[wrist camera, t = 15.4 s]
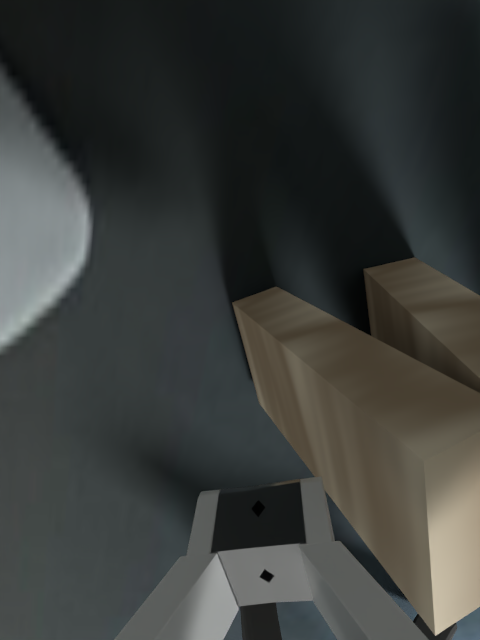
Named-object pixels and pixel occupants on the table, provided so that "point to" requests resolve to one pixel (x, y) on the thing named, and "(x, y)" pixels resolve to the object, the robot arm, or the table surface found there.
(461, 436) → the domino
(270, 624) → the hand grip strengthener
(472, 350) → the domino
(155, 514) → the table surface
